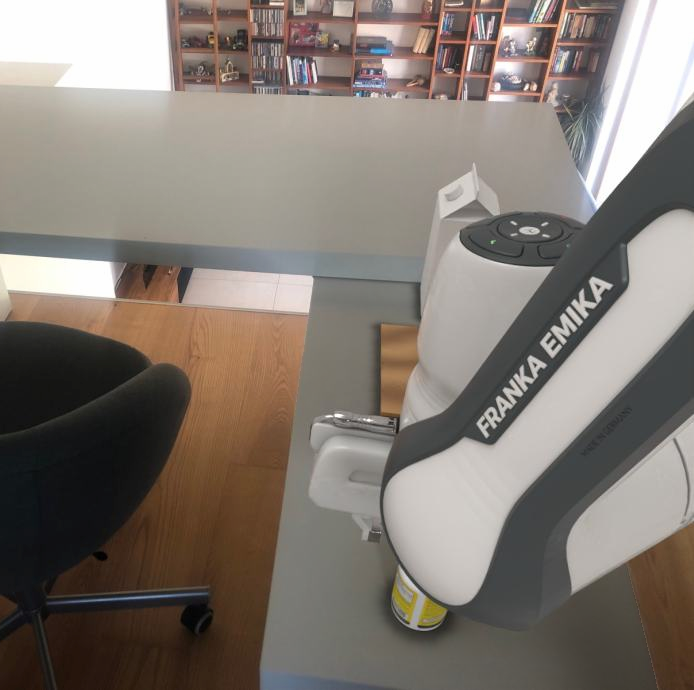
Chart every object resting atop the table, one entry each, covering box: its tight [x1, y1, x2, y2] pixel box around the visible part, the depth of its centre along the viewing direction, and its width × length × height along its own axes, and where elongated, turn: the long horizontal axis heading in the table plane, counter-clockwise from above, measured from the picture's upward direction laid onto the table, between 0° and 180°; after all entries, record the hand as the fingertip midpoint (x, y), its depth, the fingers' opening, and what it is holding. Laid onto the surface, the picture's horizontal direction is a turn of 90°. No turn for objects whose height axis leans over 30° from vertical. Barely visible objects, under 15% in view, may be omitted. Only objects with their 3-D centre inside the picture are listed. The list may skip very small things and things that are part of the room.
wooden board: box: [380, 323, 420, 418], centre depth 83 cm, size 16×16×1 cm
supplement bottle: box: [390, 563, 448, 632], centre depth 58 cm, size 5×5×8 cm
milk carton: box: [419, 162, 501, 318], centre depth 88 cm, size 7×7×19 cm
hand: (429, 545), depth 56 cm, fingers open, 8 cm apart
